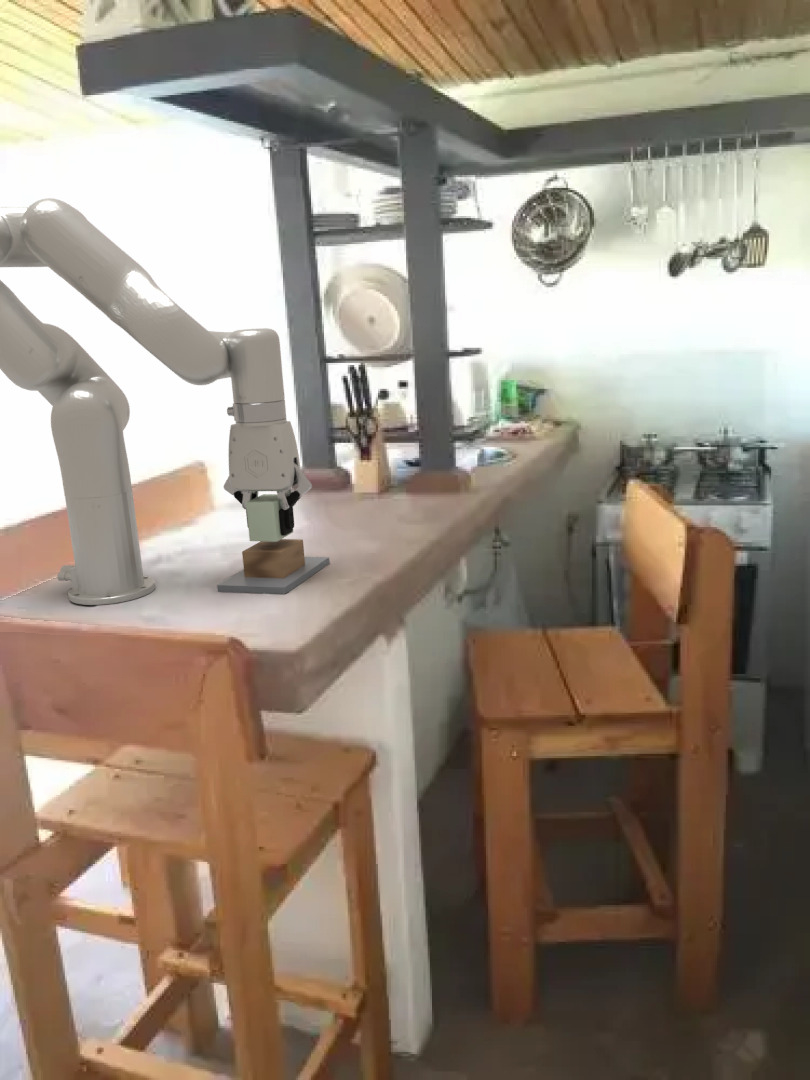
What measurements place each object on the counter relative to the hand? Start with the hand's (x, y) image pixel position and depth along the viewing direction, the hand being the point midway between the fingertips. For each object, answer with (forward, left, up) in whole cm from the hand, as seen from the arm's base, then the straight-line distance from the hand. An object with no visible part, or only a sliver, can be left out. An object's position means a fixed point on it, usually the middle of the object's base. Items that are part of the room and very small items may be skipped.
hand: (271, 532), depth 143 cm
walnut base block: (0, 0, -7) cm, 7 cm away
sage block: (0, 0, -1) cm, 1 cm away
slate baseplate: (0, 0, -7) cm, 7 cm away
